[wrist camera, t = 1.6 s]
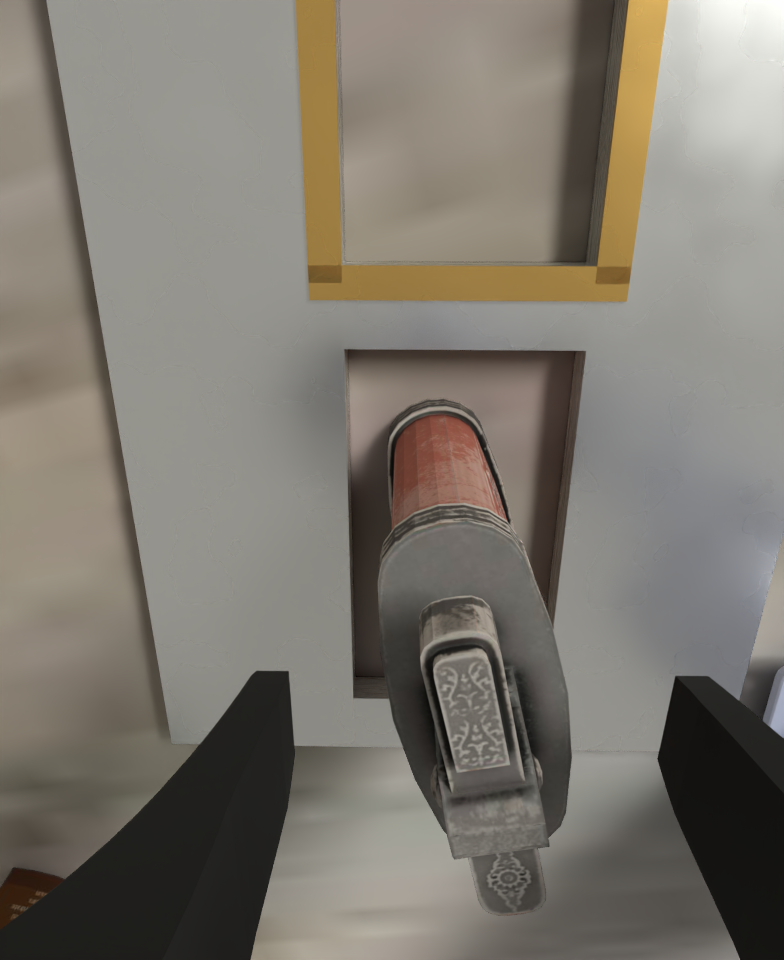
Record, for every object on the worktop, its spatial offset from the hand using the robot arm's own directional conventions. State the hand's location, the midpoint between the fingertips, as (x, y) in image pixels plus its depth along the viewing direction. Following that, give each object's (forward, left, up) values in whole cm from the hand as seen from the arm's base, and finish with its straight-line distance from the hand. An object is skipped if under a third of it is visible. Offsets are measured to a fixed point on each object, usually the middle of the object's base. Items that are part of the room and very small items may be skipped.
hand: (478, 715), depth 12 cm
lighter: (0, 0, -8) cm, 8 cm away
